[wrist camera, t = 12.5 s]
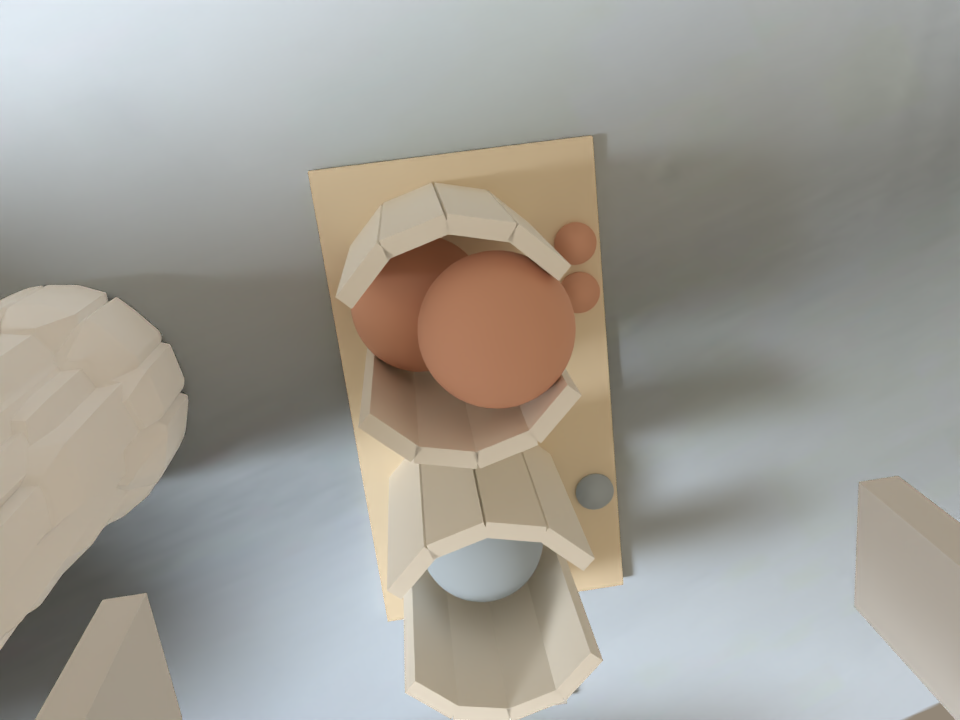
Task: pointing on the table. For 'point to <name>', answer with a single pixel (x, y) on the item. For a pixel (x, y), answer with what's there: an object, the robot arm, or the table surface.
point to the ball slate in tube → (487, 569)
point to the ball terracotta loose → (496, 329)
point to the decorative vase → (76, 430)
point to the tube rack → (482, 426)
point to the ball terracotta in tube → (401, 303)
